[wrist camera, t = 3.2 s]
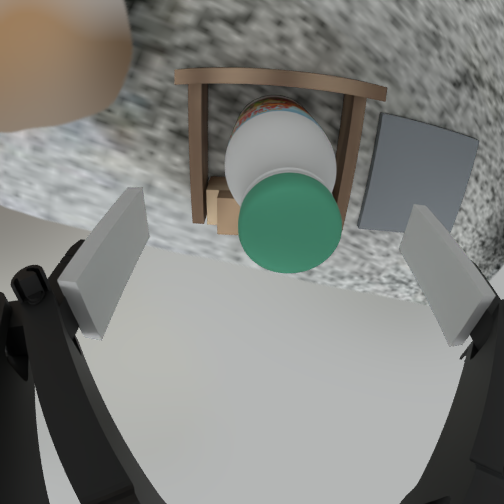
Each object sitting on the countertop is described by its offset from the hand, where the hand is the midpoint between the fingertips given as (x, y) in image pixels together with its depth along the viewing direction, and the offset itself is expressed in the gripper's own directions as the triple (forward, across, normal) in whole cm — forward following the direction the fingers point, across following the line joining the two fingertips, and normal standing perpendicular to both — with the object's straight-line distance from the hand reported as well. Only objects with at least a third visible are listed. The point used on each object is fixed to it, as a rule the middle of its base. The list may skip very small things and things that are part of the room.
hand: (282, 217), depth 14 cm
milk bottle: (+19, 0, 0) cm, 19 cm away
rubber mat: (+18, -18, +4) cm, 26 cm away
